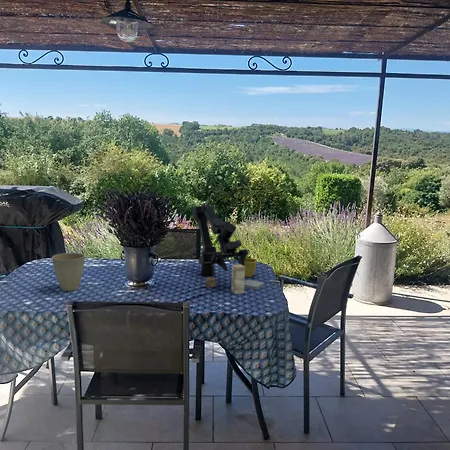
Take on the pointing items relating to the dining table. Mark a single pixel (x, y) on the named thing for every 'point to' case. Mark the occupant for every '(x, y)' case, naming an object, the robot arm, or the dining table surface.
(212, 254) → the robot arm
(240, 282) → the beech pillar
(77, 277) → the plant pot
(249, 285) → the slate plinth
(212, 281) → the walnut cube
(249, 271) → the flower pot
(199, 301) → the dining table surface
